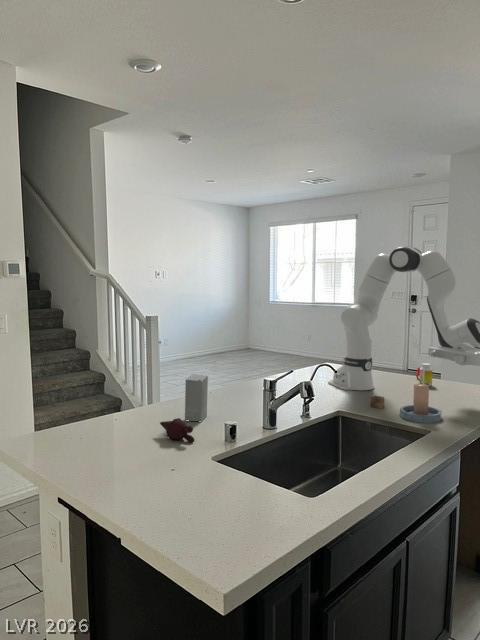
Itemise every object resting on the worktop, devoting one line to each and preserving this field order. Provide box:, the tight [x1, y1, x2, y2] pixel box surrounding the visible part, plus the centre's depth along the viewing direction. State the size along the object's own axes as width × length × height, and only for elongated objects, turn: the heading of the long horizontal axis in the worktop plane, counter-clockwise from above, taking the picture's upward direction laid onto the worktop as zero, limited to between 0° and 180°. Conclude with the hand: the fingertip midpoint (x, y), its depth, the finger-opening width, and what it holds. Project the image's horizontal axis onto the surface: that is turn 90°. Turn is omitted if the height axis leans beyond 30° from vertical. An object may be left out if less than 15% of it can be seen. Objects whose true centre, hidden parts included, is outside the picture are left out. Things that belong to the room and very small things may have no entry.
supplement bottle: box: [419, 362, 433, 387], centre depth 224 cm, size 6×6×10 cm
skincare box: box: [184, 373, 209, 422], centre depth 172 cm, size 8×7×16 cm
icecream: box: [159, 417, 195, 443], centre depth 152 cm, size 7×7×15 cm
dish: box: [399, 404, 443, 424], centre depth 174 cm, size 14×14×2 cm
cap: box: [415, 366, 422, 380], centre depth 237 cm, size 8×6×6 cm
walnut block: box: [370, 395, 385, 410], centre depth 187 cm, size 4×4×4 cm
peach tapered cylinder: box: [412, 383, 430, 415], centre depth 173 cm, size 5×5×11 cm
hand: (441, 356), depth 178 cm, fingers open, 8 cm apart
